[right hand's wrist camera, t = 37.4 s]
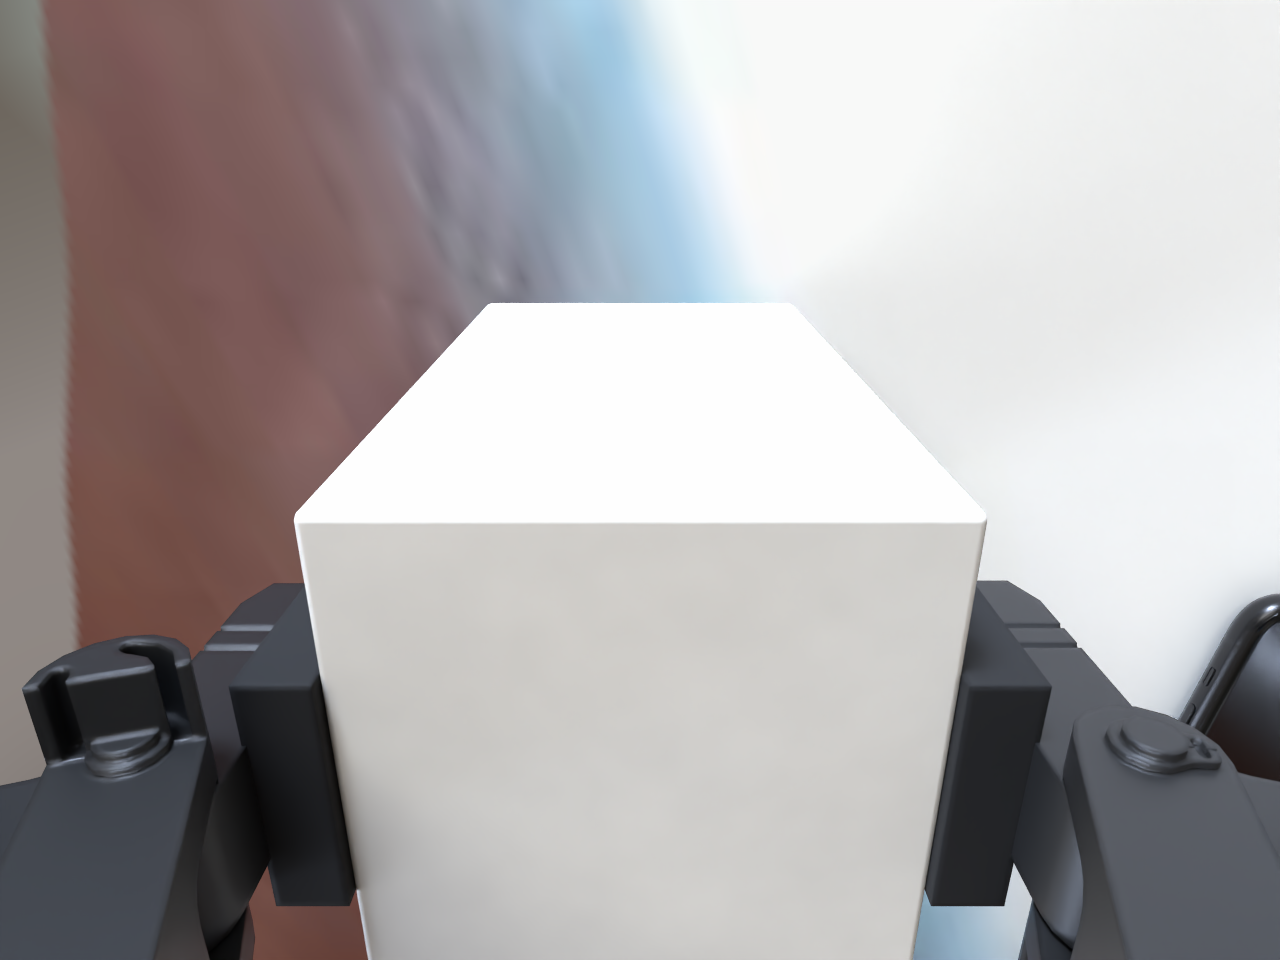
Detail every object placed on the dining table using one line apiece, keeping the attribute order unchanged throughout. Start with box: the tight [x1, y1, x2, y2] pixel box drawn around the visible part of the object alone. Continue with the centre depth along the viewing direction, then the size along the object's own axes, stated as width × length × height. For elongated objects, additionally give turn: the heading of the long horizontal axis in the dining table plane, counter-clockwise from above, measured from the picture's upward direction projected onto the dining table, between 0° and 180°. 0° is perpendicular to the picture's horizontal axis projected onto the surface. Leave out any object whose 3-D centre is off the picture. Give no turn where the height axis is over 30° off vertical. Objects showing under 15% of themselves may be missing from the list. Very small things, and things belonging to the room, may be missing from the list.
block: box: [294, 303, 987, 960], centre depth 13 cm, size 6×6×10 cm
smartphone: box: [1178, 594, 1280, 782], centre depth 23 cm, size 8×1×16 cm
